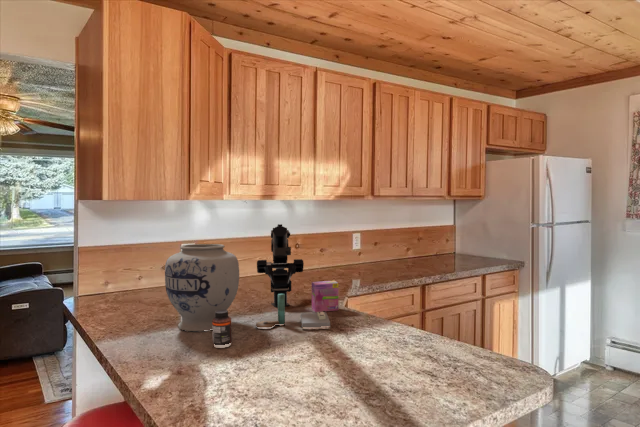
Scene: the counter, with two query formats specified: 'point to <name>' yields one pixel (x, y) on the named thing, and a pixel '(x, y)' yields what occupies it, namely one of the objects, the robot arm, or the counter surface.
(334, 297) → the box
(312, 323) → the stand
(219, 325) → the supplement bottle
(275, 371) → the counter surface
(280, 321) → the crank handle
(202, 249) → the apothecary jar
